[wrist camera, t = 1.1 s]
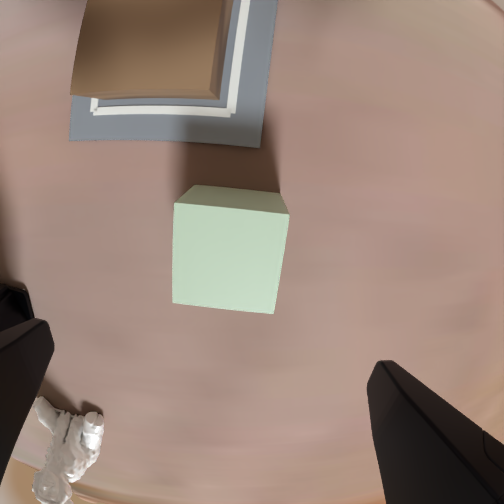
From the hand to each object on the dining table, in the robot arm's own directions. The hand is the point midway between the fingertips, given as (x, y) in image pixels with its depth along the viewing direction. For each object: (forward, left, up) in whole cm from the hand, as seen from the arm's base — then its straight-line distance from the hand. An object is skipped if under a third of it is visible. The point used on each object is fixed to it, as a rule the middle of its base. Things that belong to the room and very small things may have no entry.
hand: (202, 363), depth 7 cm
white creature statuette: (-25, +16, -12) cm, 32 cm away
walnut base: (+11, +5, -12) cm, 16 cm away
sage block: (0, 0, -12) cm, 12 cm away
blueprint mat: (+11, +5, -12) cm, 17 cm away
